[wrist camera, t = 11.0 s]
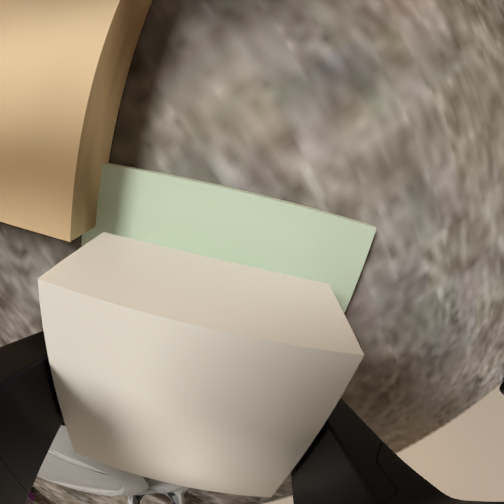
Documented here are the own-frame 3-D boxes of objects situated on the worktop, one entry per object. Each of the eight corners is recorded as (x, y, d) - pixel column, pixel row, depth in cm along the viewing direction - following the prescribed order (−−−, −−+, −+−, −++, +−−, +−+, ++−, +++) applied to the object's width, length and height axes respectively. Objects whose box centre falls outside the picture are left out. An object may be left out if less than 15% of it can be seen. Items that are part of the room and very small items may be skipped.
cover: (267, 428, 10) (270, 497, 7) (105, 390, 9) (75, 452, 6) (328, 284, 8) (364, 355, 5) (103, 231, 7) (37, 278, 5)
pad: (289, 418, 12) (289, 425, 12) (90, 373, 11) (87, 379, 11) (372, 224, 9) (376, 228, 9) (95, 160, 9) (89, 161, 8)
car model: (195, 496, 16) (188, 553, 11) (-52, 388, 14) (-77, 419, 10) (213, 407, 12) (202, 502, 8) (-91, 282, 11) (-130, 310, 6)
